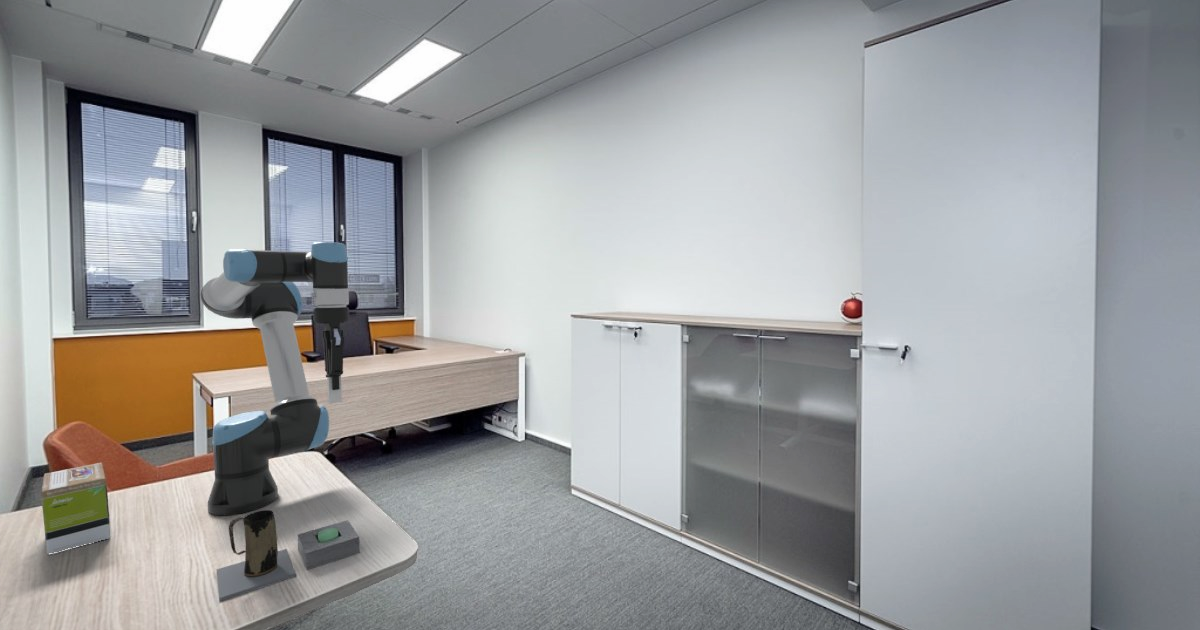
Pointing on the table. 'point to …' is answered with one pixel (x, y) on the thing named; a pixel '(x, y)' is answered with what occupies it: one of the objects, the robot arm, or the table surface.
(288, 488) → the table surface
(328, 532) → the button
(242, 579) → the mat
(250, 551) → the mug
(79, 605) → the table surface
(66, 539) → the tea box
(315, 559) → the button box
